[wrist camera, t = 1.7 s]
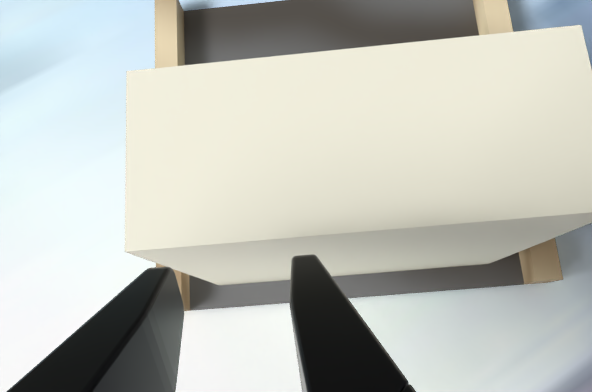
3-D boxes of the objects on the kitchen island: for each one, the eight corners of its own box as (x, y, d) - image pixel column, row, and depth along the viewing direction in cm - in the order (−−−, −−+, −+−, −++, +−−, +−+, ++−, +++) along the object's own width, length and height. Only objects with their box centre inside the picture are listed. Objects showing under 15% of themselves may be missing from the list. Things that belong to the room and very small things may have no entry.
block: (488, 263, 21) (625, 209, 11) (219, 285, 21) (124, 251, 12) (471, 158, 22) (580, 25, 12) (215, 181, 22) (126, 71, 13)
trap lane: (547, 282, 21) (562, 279, 19) (167, 312, 21) (156, 311, 20) (489, -19, 24) (499, -40, 23) (164, 15, 25) (154, -2, 23)
